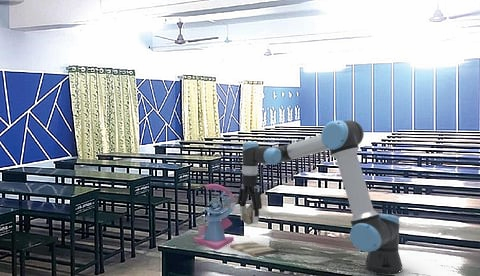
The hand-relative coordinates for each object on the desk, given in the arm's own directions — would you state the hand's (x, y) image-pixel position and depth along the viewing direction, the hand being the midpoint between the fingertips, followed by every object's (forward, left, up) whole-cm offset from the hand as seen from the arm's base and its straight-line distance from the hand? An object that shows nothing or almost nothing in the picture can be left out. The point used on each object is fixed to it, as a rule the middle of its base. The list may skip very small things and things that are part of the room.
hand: (249, 221), depth 243 cm
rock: (0, 0, -1) cm, 1 cm away
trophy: (+18, +8, -13) cm, 24 cm away
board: (-3, -1, -13) cm, 13 cm away
